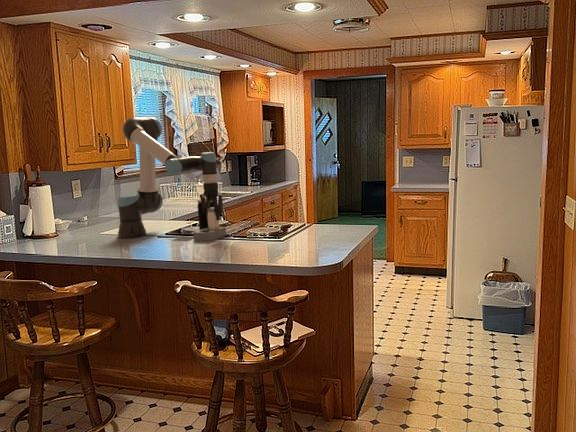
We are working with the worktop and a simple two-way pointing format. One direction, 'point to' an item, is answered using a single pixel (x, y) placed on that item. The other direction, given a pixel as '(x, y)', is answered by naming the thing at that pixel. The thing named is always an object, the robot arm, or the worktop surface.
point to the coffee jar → (202, 215)
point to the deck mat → (183, 238)
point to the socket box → (209, 234)
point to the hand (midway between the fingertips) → (213, 226)
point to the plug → (211, 218)
